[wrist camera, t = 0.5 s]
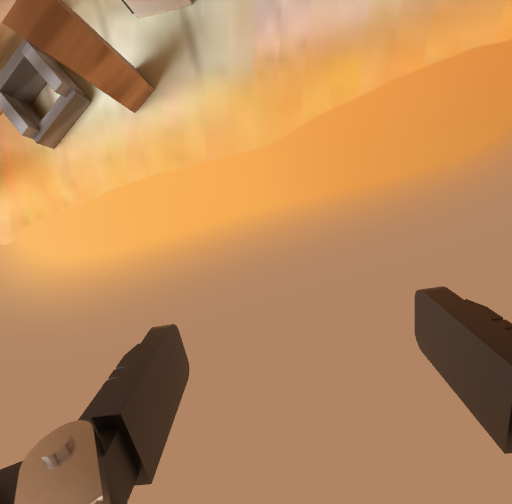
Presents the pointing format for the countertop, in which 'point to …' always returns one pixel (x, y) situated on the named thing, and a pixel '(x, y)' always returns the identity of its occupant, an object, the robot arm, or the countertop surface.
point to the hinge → (154, 6)
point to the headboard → (36, 90)
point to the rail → (76, 47)
